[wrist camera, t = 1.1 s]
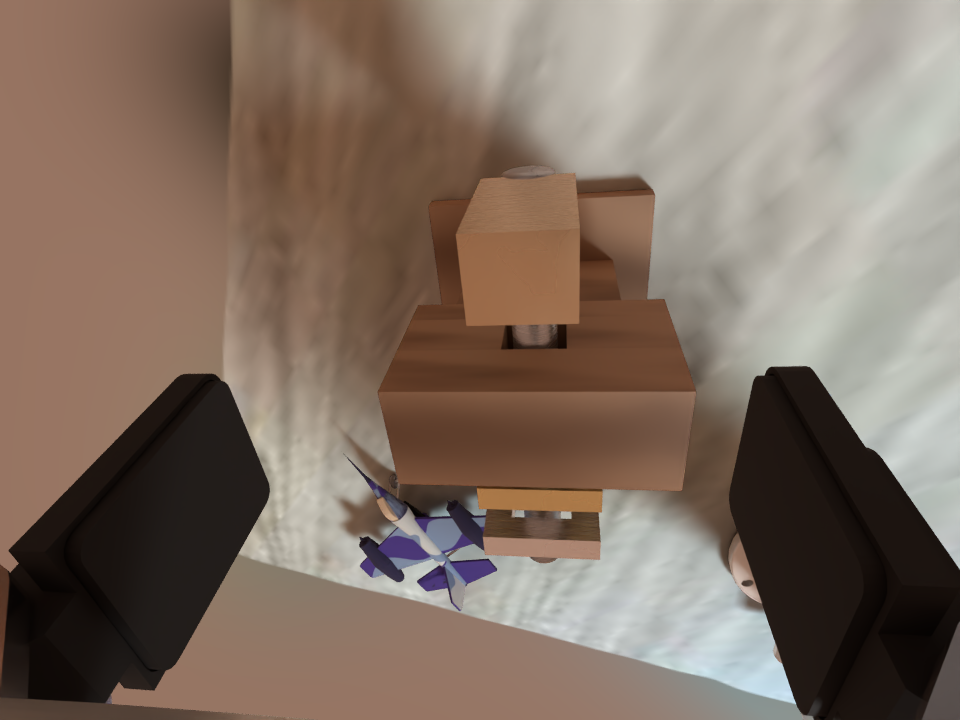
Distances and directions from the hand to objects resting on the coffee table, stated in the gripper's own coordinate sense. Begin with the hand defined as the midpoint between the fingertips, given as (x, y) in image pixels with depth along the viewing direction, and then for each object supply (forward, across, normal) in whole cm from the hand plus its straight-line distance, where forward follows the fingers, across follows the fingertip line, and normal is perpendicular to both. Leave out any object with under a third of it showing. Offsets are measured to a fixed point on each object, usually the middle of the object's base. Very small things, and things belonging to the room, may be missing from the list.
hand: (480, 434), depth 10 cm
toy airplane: (+23, +10, +28) cm, 37 cm away
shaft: (+15, 0, +10) cm, 18 cm away
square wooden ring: (+17, 0, +18) cm, 25 cm away
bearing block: (+23, 0, +7) cm, 24 cm away
